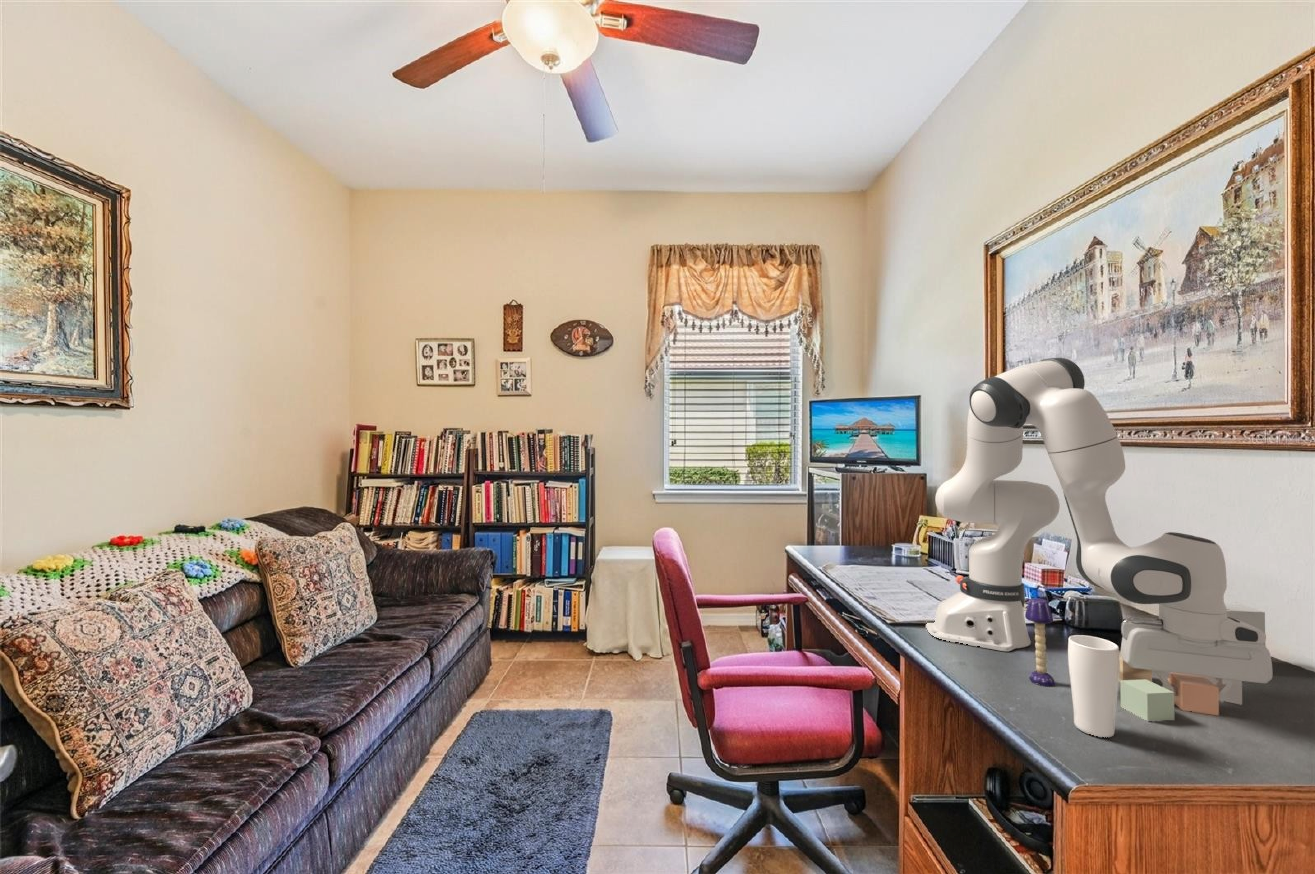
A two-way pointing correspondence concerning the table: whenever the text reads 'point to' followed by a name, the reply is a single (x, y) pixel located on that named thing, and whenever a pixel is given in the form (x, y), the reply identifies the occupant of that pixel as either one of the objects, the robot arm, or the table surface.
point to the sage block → (1147, 700)
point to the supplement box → (1246, 615)
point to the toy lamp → (1040, 639)
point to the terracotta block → (1195, 693)
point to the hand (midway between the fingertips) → (1192, 697)
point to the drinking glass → (1094, 683)
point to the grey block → (1231, 691)
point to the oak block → (1133, 672)
